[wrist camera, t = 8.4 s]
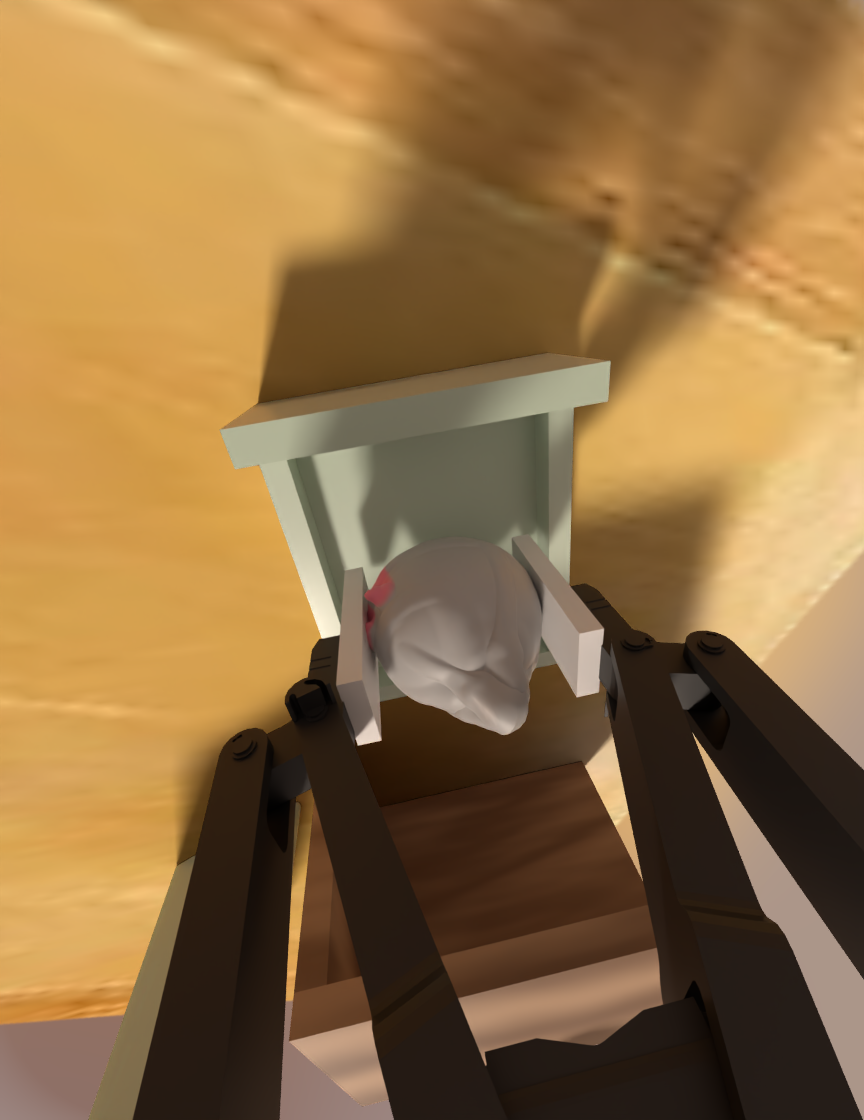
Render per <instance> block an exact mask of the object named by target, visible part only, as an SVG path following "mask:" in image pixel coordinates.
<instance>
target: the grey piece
mask: <svg viewBox="0 0 864 1120" xmlns="http://www.w3.org/2000/svg"><path fill="white" fill-rule="evenodd" d="M300 811H301V805H300V803H299V802H296V807H295V826H294V846H293V865H294V857H295V849H296V842H297V834H298V826H299V819H300ZM195 856H196V855H194V856H193V857H191V858H189V859H188V860H186V861H184V862H182V863H181V864H179V865H178V866H177V867H176V869H175V871H174V874H173V877H172V880H171V883H170V886H169V889H168V892H167V895H166V898H165V900H164V903H163V906H162V909H161V912H160V915H159V918H158V920H157V923H156V926H155V929H154V932H153V935H152V937H151V940H150V943H149V946H148V949H147V952H146V955H145V957H144V960H143V963H142V966H141V969H140V972H139V975H138V977H137V980H136V983H135V986H134V989H133V992H132V995H131V998H130V1000H129V1003H128V1006H127V1009H126V1012H125V1015H124V1018H123V1021H122V1024H121V1027H120V1029H119V1032H118V1035H117V1038H116V1041H115V1044H114V1047H113V1050H112V1052H111V1055H110V1058H109V1062H108V1064H107V1067H106V1070H105V1073H104V1076H103V1078H102V1081H101V1084H100V1087H99V1090H98V1093H97V1096H96V1099H95V1102H94V1104H93V1108H92V1110H91V1113H90V1116H89V1119H88V1120H133V1115H134V1111H135V1107H136V1103H137V1099H138V1094H139V1090H140V1086H141V1082H142V1078H143V1073H144V1069H145V1065H146V1061H147V1057H148V1053H149V1048H150V1044H151V1040H152V1036H153V1032H154V1027H155V1023H156V1019H157V1015H158V1011H159V1007H160V1002H161V998H162V994H163V990H164V986H165V981H166V977H167V973H168V969H169V965H170V960H171V956H172V952H173V948H174V944H175V940H176V935H177V931H178V927H179V923H180V919H181V914H182V910H183V906H184V902H185V898H186V893H187V889H188V885H189V881H190V877H191V873H192V868H193V864H194V860H195ZM293 865H292V872H293Z"/></svg>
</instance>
